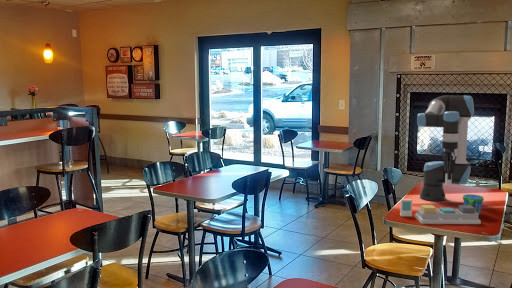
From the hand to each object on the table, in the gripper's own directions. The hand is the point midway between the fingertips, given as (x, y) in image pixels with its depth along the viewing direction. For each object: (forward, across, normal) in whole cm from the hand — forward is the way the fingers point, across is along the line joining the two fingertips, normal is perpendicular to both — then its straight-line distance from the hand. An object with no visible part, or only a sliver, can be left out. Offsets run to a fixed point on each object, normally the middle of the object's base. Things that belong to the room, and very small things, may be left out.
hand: (448, 185), depth 249 cm
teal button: (+17, +2, -1) cm, 17 cm away
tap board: (+19, +2, -1) cm, 19 cm away
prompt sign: (+19, -7, -20) cm, 28 cm away
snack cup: (+19, -10, +17) cm, 28 cm away
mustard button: (+15, +2, -11) cm, 19 cm away
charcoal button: (+15, +2, +9) cm, 18 cm away
